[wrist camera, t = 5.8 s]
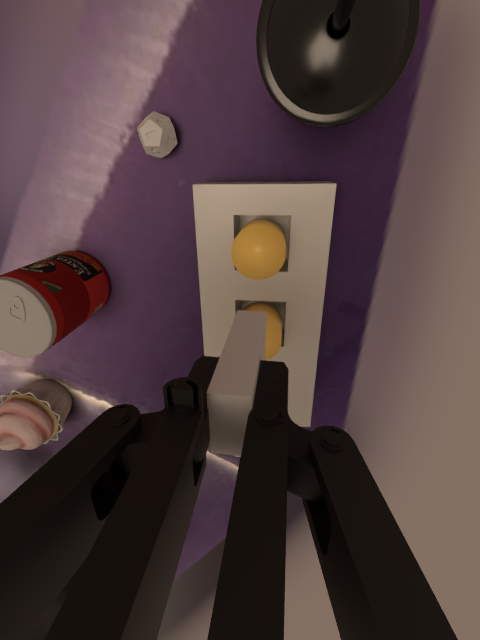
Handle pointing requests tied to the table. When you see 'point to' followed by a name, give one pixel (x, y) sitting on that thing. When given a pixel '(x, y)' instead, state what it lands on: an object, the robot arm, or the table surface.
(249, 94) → the table surface
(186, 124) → the table surface
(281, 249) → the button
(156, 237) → the table surface
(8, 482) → the table surface
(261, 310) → the button mid
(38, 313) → the canned food
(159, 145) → the game die
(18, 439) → the cupcake
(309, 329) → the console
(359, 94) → the drinking cup
